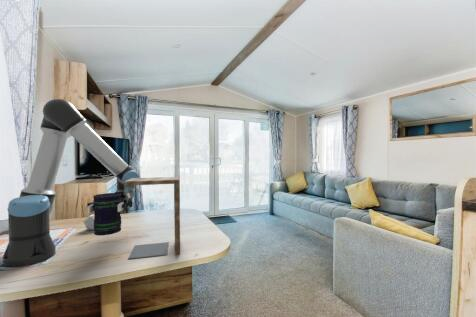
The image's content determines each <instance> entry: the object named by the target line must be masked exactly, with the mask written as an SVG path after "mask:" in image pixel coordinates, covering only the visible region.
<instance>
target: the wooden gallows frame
mask: <svg viewBox="0 0 476 317" xmlns="http://www.w3.org/2000/svg"><path fill="white" fill-rule="evenodd" d="M135 185H136V186H152V185H154V186H155V185H173V189H174V190H173V195H174V196H173V206H174V207H173V211H174V212H173V213H174V255H175V256H176V255H181V216H180V215H181V210H180V209H181V207H180V205H181V204H180V202H181V201H180V200H181V198H180V197H181V196H180V194H181V190H180V176H161V177H140V178H131V179H129V180H127V181H124V194H128V193H129V192H131V191H132V190H135V189H136V186H135Z"/></svg>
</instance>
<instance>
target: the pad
mask: <svg viewBox="0 0 476 317" xmlns="http://www.w3.org/2000/svg"><path fill="white" fill-rule="evenodd" d="M168 250H169V242H168V241H166V242H155V243H145V244H136V245H134V246H133V248H132V250H131V252H130V254H129V256H128V257H127V260H135V259H143V258H144V259H145V258H153V257H162V256H167V255H168Z"/></svg>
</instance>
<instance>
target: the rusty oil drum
mask: <svg viewBox="0 0 476 317" xmlns="http://www.w3.org/2000/svg"><path fill="white" fill-rule="evenodd" d="M120 196H121V194H120V193H115V192H108V193H107V192H105V193H99V194H95V195H93V196H92V197H93V198H92V199H93V200H92V202H93V210H94V211H93V214H94V230H93V234H94V235H95V236H100V237H101V236H109V235H115V234H117V233H119V232H121V231H122V216H121V211H120V212H118V204H120V203H121V200H120V199H121V197H120Z"/></svg>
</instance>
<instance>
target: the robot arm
mask: <svg viewBox="0 0 476 317" xmlns="http://www.w3.org/2000/svg"><path fill="white" fill-rule="evenodd" d="M42 114H43V118H42V121H41V124H40V127H39V129H40V130H41V131H42V136H41V140H40V143H39V147H38V150H37V153H36V156H35V161H34V162H33V168H32V170H31V172H30V173H31V174H30V177H29V181H28V183H27V186H26V187H24V188H22V189H21V190H20V193H19V196H18V197H14V198H13V199H11V200H10V201H9V202H8V206H7V213H8V218H7V219H8V243H7V244H6V248H5V251H4V253H3V256H2V262H1V264H2V263H3V265H6V266H18V267H22V266H21V265H24V266H28V264H29V265H32V264H36V263H40V262H43V261H45V260H47V259H49V258H51V257H53V256H54V255H56V251H57V250H56V245H55V242H54V240H53V238H52V237H51V234H50V233H51V232H50V230H51V229H50V225H51V224H50V214H51V213H52V210H53V207H54V206H53V205H54V201H55V198H56V194H57V193H56V191H55V190H54V186H55V183H56V178H57V175H58V171H59V168H60V165H61V161H62V158H63V155H64V150H65V147H66V143H67V140H68V138H70V137H72V138H73V139H75V140H76V141H77V142H78V143H79V144H80V145H81V146H82V147H83V148H84V149H85V150H86V151H87V152H89V153H90V154H91V155H92V156H93V157H94V158H95V159H96V160H97V161H98V162H99V163H101V165H102V166H104V168H106V169H107V170H108V171H109V172H110V173H111V174H112V175H113V176H115V177H116V191H115V192H114V193H120V194H121V196H120V197H121V199H120V200H121V203H120V204H118V212H120V213H121V212H122V211H123V210H124V209H126V208H132V207H133V198H134V197H135V189H133V190H132V191H131V192H129V193H128V194H124V181H127V180H129V179H131V178H141V176H140V174H139V173H138V172H137V171H135V170H134V169H133V166H131V165H129V164H128V163H127V162H126V161H125V160H124V159H122V157H121V156H120V155H119V154H117V152H116V151H115V150H114V149H113V148H112V147H111V146H110V145H109V144H108V143H106V141H105V140H104V139H102V137H101V136H100V135H99V134H98V133H97V132H95V130H94V129H92V128H91V126H90V125H89V124H87V119H86V118H85V117H84V116H83V115H82V113H80V111H79V110H78V109H77V108H76V106H74V104H72V103H71V102H70V101H69V100H66V99H63V98H62V99H61V98H55V99H51V100H48V101H47V102H46V103H44V106H43V108H42ZM136 186H137V185H135V187H136ZM86 206H87V215H89V214H90V215H91V214H92V213H94V210H93V201H91V202H87V205H86ZM3 265H2V266H3ZM6 266H5V267H6Z"/></svg>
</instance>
